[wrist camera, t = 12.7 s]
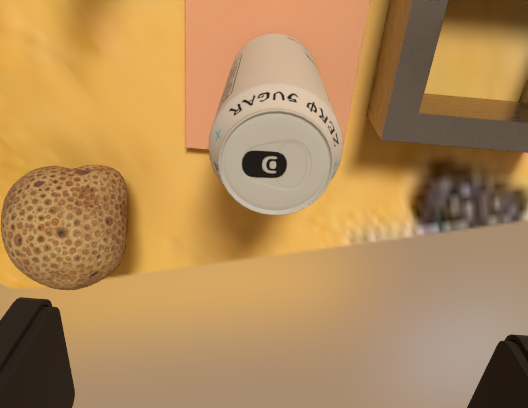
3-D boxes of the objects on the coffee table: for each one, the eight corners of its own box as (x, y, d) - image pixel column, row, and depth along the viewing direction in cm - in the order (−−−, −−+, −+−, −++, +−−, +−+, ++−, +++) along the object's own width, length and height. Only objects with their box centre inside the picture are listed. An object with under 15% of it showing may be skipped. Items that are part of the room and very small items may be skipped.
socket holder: (615, -69, 28) (679, -72, 23) (535, 129, 34) (573, 156, 30) (408, -90, 27) (434, -97, 23) (366, 115, 34) (380, 140, 29)
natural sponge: (34, 222, 39) (-33, 300, 30) (36, 128, 35) (-41, 188, 26) (138, 245, 40) (102, 327, 31) (153, 157, 36) (115, 224, 27)
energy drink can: (312, 119, 33) (338, 230, 20) (230, 115, 33) (204, 223, 20) (321, 33, 30) (359, 98, 17) (231, 28, 30) (201, 90, 17)
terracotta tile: (369, -11, 30) (372, -10, 29) (339, 156, 35) (340, 160, 35) (187, -28, 29) (185, -28, 28) (187, 143, 35) (185, 147, 34)
